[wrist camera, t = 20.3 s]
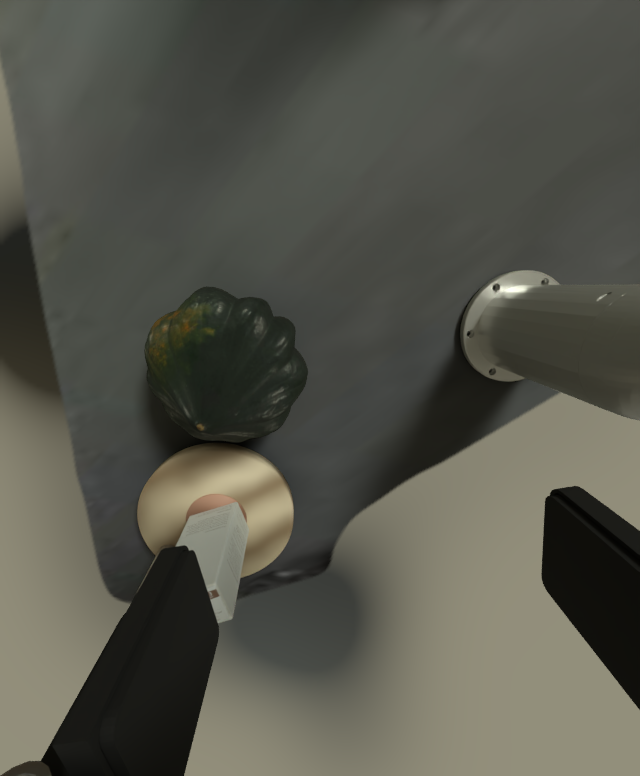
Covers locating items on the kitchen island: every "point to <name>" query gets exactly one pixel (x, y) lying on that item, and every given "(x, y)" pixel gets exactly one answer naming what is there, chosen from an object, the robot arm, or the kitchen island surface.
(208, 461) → the turntable
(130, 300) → the kitchen island surface
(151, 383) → the squash
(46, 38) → the kitchen island surface
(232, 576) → the skincare box
